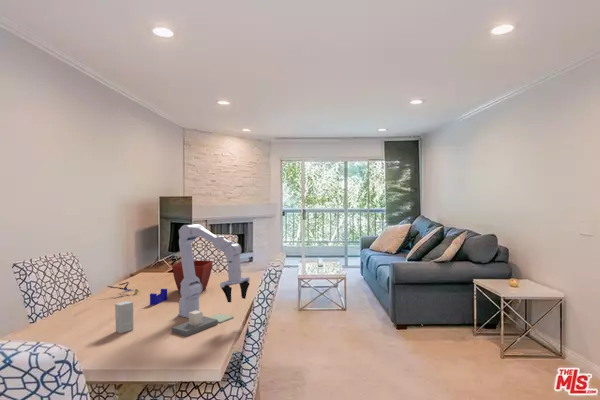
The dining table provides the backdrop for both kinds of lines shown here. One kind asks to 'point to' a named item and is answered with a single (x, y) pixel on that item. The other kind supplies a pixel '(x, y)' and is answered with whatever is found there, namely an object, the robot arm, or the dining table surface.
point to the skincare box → (124, 316)
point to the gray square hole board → (190, 329)
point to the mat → (221, 317)
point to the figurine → (125, 289)
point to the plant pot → (200, 271)
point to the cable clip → (158, 297)
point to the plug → (195, 318)
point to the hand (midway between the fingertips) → (236, 300)
